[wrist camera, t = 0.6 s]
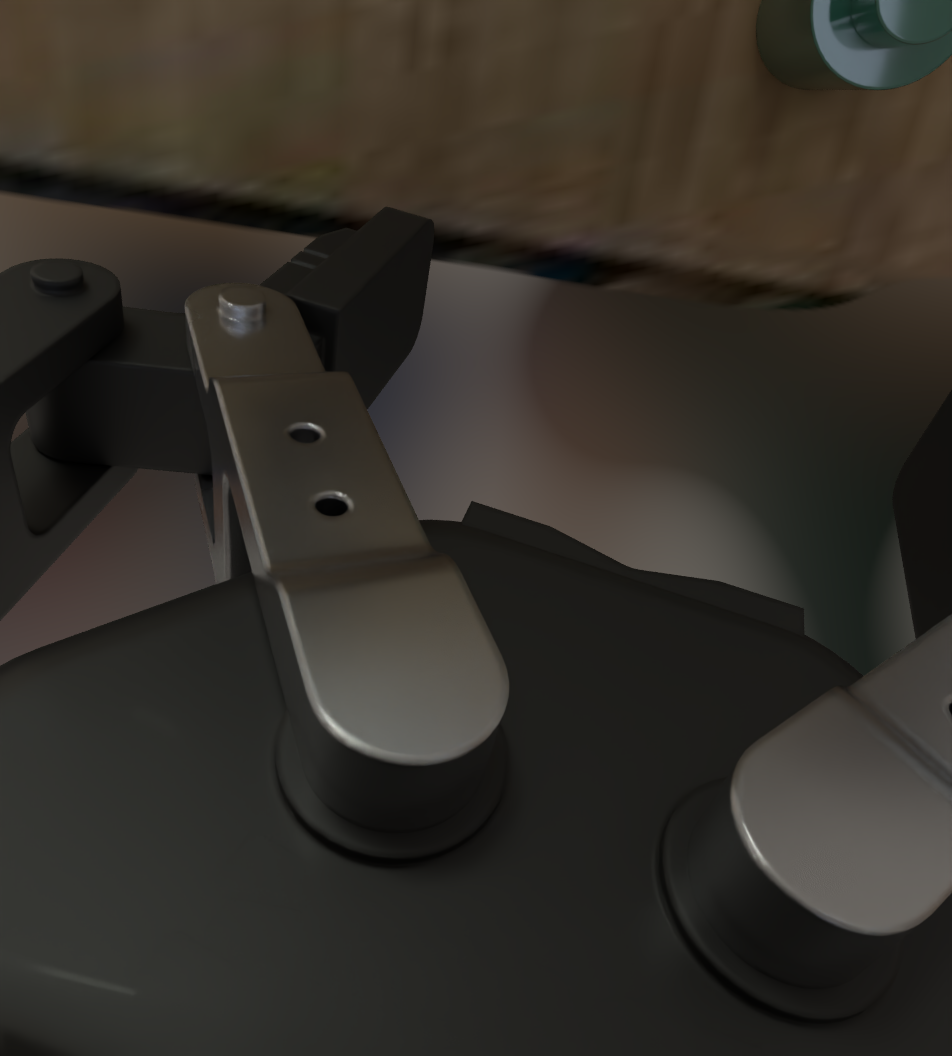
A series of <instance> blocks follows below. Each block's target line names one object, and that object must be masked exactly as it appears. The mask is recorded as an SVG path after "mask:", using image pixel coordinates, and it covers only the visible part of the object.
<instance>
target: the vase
mask: <svg viewBox="0 0 952 1056" xmlns="http://www.w3.org/2000/svg"><path fill="white" fill-rule="evenodd" d="M756 38H757V45H758V49H759V53H760V55H761V58H762V60H763V62H764V64H765V66H766V67H767V69H768V70H769V71H770V72H771V74H772V75H773V76H775V77H776V78H777V79H778V80H779V81H781V82H782V83H784V84H786V85H788V86H790V87H793V88H797V89H803V90H888V89H894V88H899V87H902V86H906V85H908V84H911V83H913V82H915V81H918V80H920V79H921V78H923V77H925V76H927V75H928V74H930V73H931V72H933V71H934V70H935V69H937V68H938V67H939V66H941V65H942V64H943V63H944V62H945V61H946V60H947V59H948V58H949V57H950V56H951V55H952V0H762V1H761V4H760V7H759V11H758V15H757V23H756Z"/></svg>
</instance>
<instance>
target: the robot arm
mask: <svg viewBox="0 0 952 1056" xmlns="http://www.w3.org/2000/svg"><path fill="white" fill-rule="evenodd" d="M433 241H434V223H433V221H432V220H431V219H428V218H424V217H421V216H417V215H414V214H411V213H407V212H404V211H400V210H397V209H393V208H390V207H385V208H383V209H382V210H381V211H380V212H378V213H377V214H376V215H375V216H374V217H373V218H372V219H371V220H369V221H368V222H367V223H366V224H365V225H364V226H363V227H361V228H360V229H359V230H358V231H355V230H352V229H348V228H345V229H341V230H338V231H334V232H331V233H327V234H324V235H320V236H319V237H318V238H316V239H315V240H314V241H313V242H312V243H310V244H309V245H308V246H307V247H305V248H304V252H302V251H301V252H299V253H298V254H297V255H296V256H294V257H293V258H292V259H291V262H287V263H286V264H285V265H283V266H282V267H281V268H280V269H279V270H277V271H276V272H275V273H274V274H272V275H271V276H270V277H269V278H268V279H266V280H265V281H264V282H263V283H261V284H260V285H254V284H247V283H223V284H215V285H211V286H207V287H205V288H202V289H199V290H197V291H196V292H194V293H193V294H191V295H190V296H189V297H188V299H187V300H186V303H185V313H171V312H162V311H154V310H146V309H138V308H130V307H123V306H122V299H121V298H122V297H121V288H120V282H119V280H118V278H117V277H116V276H115V275H114V274H113V273H112V272H111V271H109V270H107V269H106V268H103V267H101V266H99V265H96V264H93V263H89V262H85V261H80V260H72V259H41V260H34V261H29V262H25V263H21V264H18V265H15V266H13V267H11V268H9V269H7V270H5V271H4V272H2V273H0V620H1V619H2V618H3V617H4V616H5V615H6V614H7V613H8V612H9V611H10V610H11V609H12V607H13V606H14V605H15V604H16V603H17V602H18V601H19V600H20V599H21V598H22V597H23V596H24V594H25V593H26V592H27V591H28V590H29V589H30V588H31V587H32V586H33V584H34V583H35V582H36V581H37V580H38V579H39V578H40V577H41V576H42V575H43V574H44V572H46V571H47V569H48V568H49V567H50V566H51V565H52V564H53V563H54V562H55V561H56V560H57V558H58V557H59V556H60V555H61V554H62V553H63V552H64V551H65V550H66V549H67V548H68V547H69V545H70V544H71V543H72V542H73V541H74V540H75V539H76V538H77V537H78V536H79V534H80V533H81V532H82V531H83V530H84V529H85V528H86V527H87V526H88V525H89V524H90V523H91V521H92V520H93V519H94V518H95V517H96V516H97V515H98V514H99V513H100V512H101V511H102V509H103V508H104V507H105V506H106V505H107V504H108V503H109V502H110V501H111V500H112V499H113V498H114V496H115V495H116V494H117V493H118V492H119V491H120V490H121V489H122V488H123V487H124V486H125V484H126V483H127V482H128V481H129V480H130V479H131V478H132V477H133V476H134V474H135V473H136V472H137V470H138V468H143V469H153V470H163V471H175V472H185V473H194V474H195V485H196V490H197V494H198V500H199V504H200V509H201V514H202V518H203V523H204V528H205V532H206V537H207V542H208V547H209V551H210V556H211V561H212V565H213V570H214V576H215V583H216V584H215V585H213V586H210V587H207V588H205V589H201V590H199V591H196V592H193V593H190V594H188V595H185V596H182V597H179V598H176V599H174V600H171V601H168V602H165V603H163V604H160V605H157V606H154V607H151V608H149V609H146V610H143V611H140V612H138V613H135V614H132V615H129V616H126V617H124V618H121V619H118V620H115V621H113V622H110V623H107V624H104V625H101V626H99V627H96V628H93V629H90V630H88V631H85V632H82V633H79V634H77V635H74V636H71V637H68V638H65V639H63V640H60V641H57V642H54V643H52V644H49V645H46V646H43V647H40V648H38V649H35V650H33V651H31V652H28V653H26V654H23V655H21V656H19V657H16V658H14V659H12V660H10V661H8V662H7V663H5V664H3V665H1V666H0V1056H952V390H951V392H950V393H949V395H948V396H947V398H946V400H945V401H944V403H943V404H942V406H941V407H940V409H939V410H938V412H937V413H936V415H935V416H934V418H933V420H932V421H931V423H930V424H929V426H928V428H927V429H926V430H925V432H924V434H923V435H922V437H921V438H920V440H919V441H918V443H917V445H916V446H915V448H914V449H913V451H912V452H911V454H910V455H909V457H908V458H907V460H906V462H905V463H904V465H903V467H902V469H901V471H900V473H899V475H898V478H897V481H896V484H895V488H894V492H893V509H894V514H895V520H896V526H897V532H898V538H899V543H900V549H901V556H902V561H903V567H904V573H905V579H906V585H907V591H908V597H909V602H910V608H911V614H912V620H913V625H914V632H915V638H916V640H914V641H913V642H911V643H910V644H909V645H907V646H906V647H904V648H903V649H902V650H900V651H899V652H897V653H896V654H894V655H893V656H892V657H891V658H889V659H888V660H886V661H885V662H883V663H882V664H881V665H879V666H878V667H877V668H875V669H873V670H872V671H871V672H869V673H868V674H866V675H865V676H863V675H862V674H860V673H859V672H858V671H857V670H856V669H855V668H854V667H852V666H851V665H850V664H849V663H847V662H846V661H845V660H843V659H842V658H841V657H839V656H838V655H837V654H835V653H834V652H833V651H831V650H830V649H828V648H826V647H825V646H823V645H821V644H820V643H818V642H817V641H815V640H813V639H811V638H810V637H808V636H806V635H804V609H803V608H800V607H797V606H794V605H791V604H788V603H785V602H782V601H779V600H776V599H772V598H769V597H766V596H763V595H760V594H757V593H754V592H751V591H748V590H744V589H742V588H739V587H735V586H732V585H729V584H726V583H723V582H720V581H714V580H707V579H699V578H693V577H686V576H678V575H672V574H665V573H658V572H651V571H644V570H638V569H633V568H630V567H628V566H626V565H623V564H621V563H619V562H617V561H616V560H614V559H612V558H610V557H608V556H606V555H604V554H602V553H600V552H598V551H596V550H595V549H593V548H590V547H589V546H587V545H585V544H583V543H581V542H579V541H577V540H575V539H573V538H572V537H570V536H568V535H566V534H564V533H562V532H560V531H558V530H556V529H554V528H552V527H550V526H547V525H544V524H541V523H538V522H535V521H532V520H528V519H526V518H522V517H519V516H516V515H513V514H510V513H507V512H504V511H501V510H498V509H495V508H492V507H489V506H485V505H482V504H479V503H476V502H473V501H472V502H471V504H470V506H469V508H468V510H467V512H466V514H465V516H464V518H463V520H462V522H456V521H443V520H418V518H417V515H416V513H415V511H414V509H413V507H412V505H411V503H410V501H409V498H408V496H407V494H406V492H405V490H404V488H403V486H402V484H401V481H400V479H399V477H398V475H397V473H396V471H395V469H394V467H393V464H392V462H391V460H390V458H389V456H388V454H387V452H386V449H385V448H384V445H383V443H382V441H381V439H380V437H379V435H378V432H377V430H376V428H375V426H374V424H373V422H372V420H371V418H370V415H369V413H368V411H367V409H368V408H369V406H370V405H371V404H372V403H373V401H374V400H375V399H376V397H377V396H378V394H379V393H380V392H381V390H382V389H383V388H384V387H385V385H386V384H387V383H388V381H389V380H390V379H391V377H392V376H393V374H394V373H395V372H396V371H397V369H398V368H399V367H400V365H401V364H402V363H403V361H404V360H405V359H406V357H407V356H408V355H409V353H410V352H411V350H412V348H413V346H414V343H415V341H416V338H417V335H418V332H419V329H420V325H421V321H422V316H423V309H424V302H425V295H426V288H427V281H428V275H429V268H430V261H431V255H432V248H433ZM25 412H26V416H27V421H28V426H29V428H28V429H26V430H25V431H24V432H23V433H22V434H21V435H19V437H17V438H16V439H15V440H14V441H12V442H11V439H12V434H13V431H14V429H15V426H16V424H17V422H18V421H19V419H20V418H21V416H22V415H23V414H24V413H25Z"/></svg>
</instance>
